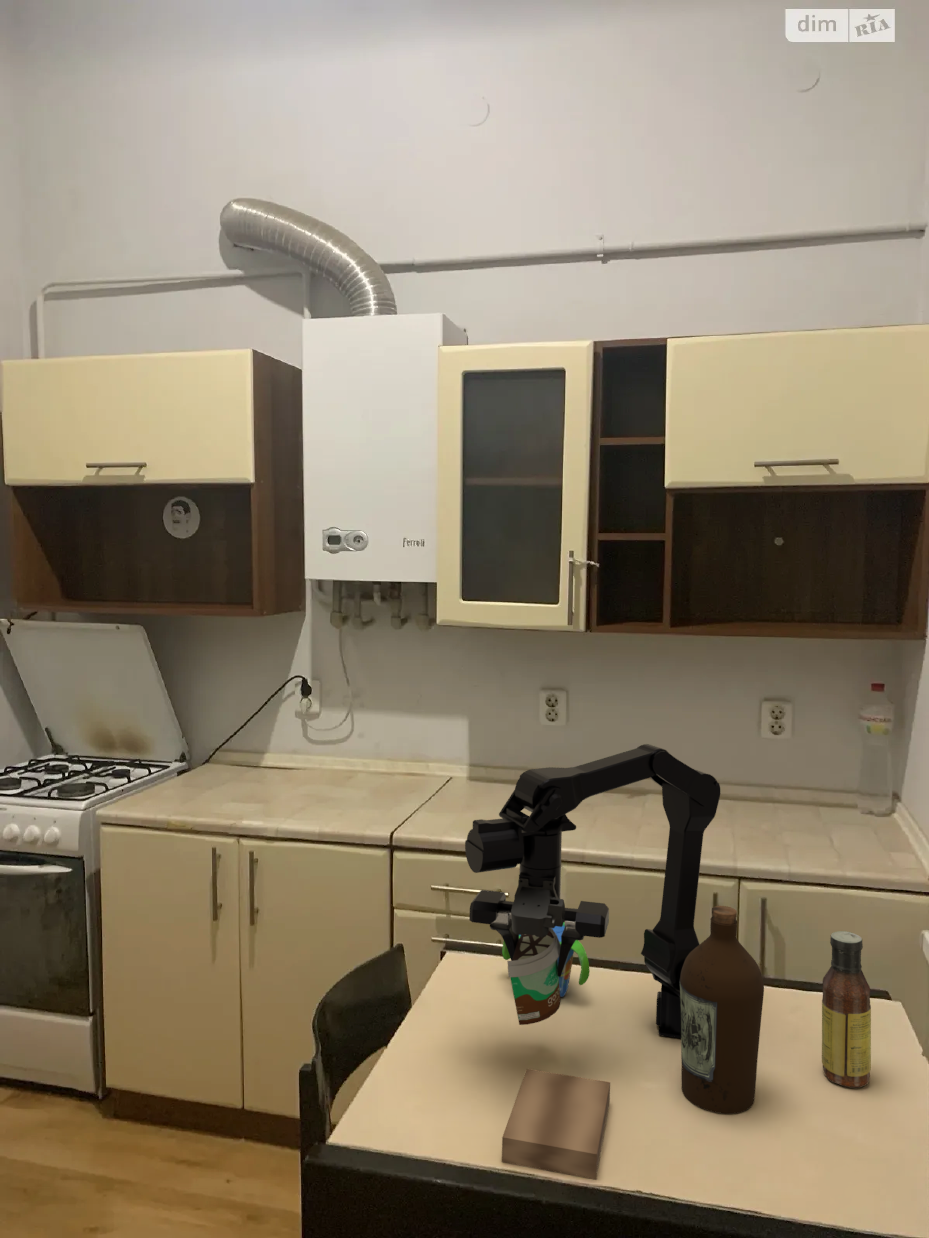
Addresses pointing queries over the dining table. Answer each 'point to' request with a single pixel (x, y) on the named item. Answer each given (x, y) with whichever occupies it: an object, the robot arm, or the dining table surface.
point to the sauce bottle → (846, 1014)
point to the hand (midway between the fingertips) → (538, 972)
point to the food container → (535, 977)
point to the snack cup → (566, 972)
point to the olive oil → (720, 1019)
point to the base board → (557, 1124)
